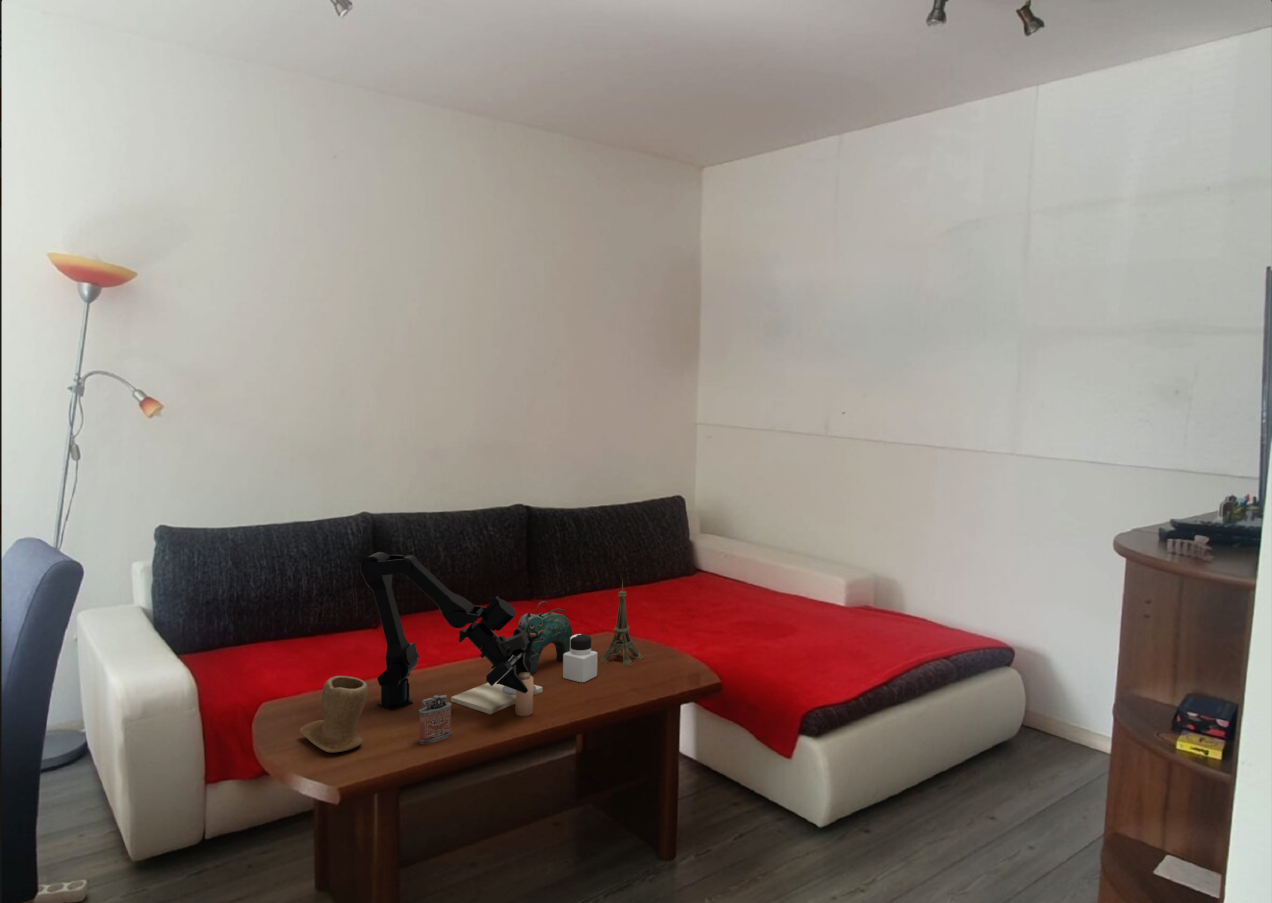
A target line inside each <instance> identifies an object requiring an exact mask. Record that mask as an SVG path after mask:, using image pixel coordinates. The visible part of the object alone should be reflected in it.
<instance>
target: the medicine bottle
mask: <svg viewBox="0 0 1272 903" xmlns="http://www.w3.org/2000/svg"><path fill="white" fill-rule="evenodd" d="M597 676H598V652H597V651H595V650H592V637H591V636H590V635H588V634H584V633H576V634H574V635H573V636H571V638H570V651H569V652H567V653H564V654H563V662H562V677H563V679H566V680H571V681H574V682H579V683H581V682H582V683H581V684H583V682H584V683H585V682H588V681H590V680H591V679H594V678H596V677H597Z"/></svg>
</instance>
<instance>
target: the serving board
mask: <svg viewBox="0 0 1272 903" xmlns="http://www.w3.org/2000/svg"><path fill="white" fill-rule="evenodd" d="M497 682H498V681H497ZM497 682H496V683H497ZM496 683H495V684H494V685H493V686H491V685H490V684H489V683H488V682H487V683H486V682H485V683H483V684H481V685H478V686H476V687H473V688H470V689H468V690H466V691H463V692H460V693H458V694H455V695H453V696H451V697H450V701H451V702H450V703H455V704H457V705H460V706H464V707H467V708H469V709H472V710H475V711H476V710H477V711H479V712H483V713H485V714H488V715H492V714H494V713H497V712H498V711H499V712H500V711H501V710H504V709H505V708H508V707H510V706H513V705H514V704H515V703H516V690H515V689H512V688H510V687H507V686H504V685H500V684H496ZM543 688H544V687H543V686H540V685H536V684H534V683H533V696H535V695H538V694H540V693H543Z"/></svg>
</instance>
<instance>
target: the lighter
mask: <svg viewBox="0 0 1272 903" xmlns="http://www.w3.org/2000/svg"><path fill="white" fill-rule="evenodd" d="M447 698H448V696H447V694H442V695H437V694H435V695H433V696H432V697H430V698H425V699H422V702H421V706H422V708H420V709H418V715H419V737H418V743H419V744H421V745H428V744H432V743H436V742H439V741H442V740H446V739H447V738H450V737H451V736H452V730H451V729H452V728H451V725H452V724H451V719H452V717H451V714H452V713H451V712H452V711H451V710H452V702H448V701H447ZM449 736H450V737H449Z"/></svg>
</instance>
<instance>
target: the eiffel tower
mask: <svg viewBox="0 0 1272 903" xmlns="http://www.w3.org/2000/svg"><path fill="white" fill-rule="evenodd" d="M621 581H622V583H621V591H619V592H617V593H618V594H617V597H619V600H618V609H617V616H616V625H615V627H614V628H613V631H614V635H613V638H612V640H611V641H609V643H610V645H609V646H608V647H607V649H606V650H605V652H604V653H603V655H602V656H601V658H600V659H599V660H600V661H604V662H607V661H609V660H610V661H611V658H610V657H611V656H612V655H611V654H616V655H617V654H619V653H620V652H622V664H621V666H622V665H624V666H623V667H626V666H629V667H628V668H630V666H631V667H632V666H634V665H633V664H634V663H633V662H632V659H634V658H638V659H637V660H642V659H643V658H644V657H643V656H644V655H642V654H641V652H640V650H639V649H638V648H637V647H636V646H635V644H634V643H633V640H634V639H631V636H630V632H629V630H630V625H628V619H627V618H628V617H627V607H626V596H627V592H626V591H624V581H623V578H622V580H621ZM628 650H629V652H630V653H631V655H632V656H631V657H630V655H629V653H628ZM620 654H621V653H620ZM620 654H619V655H620ZM616 655H615V656H616ZM617 656H618V655H617ZM642 657H643V658H642ZM641 658H642V659H641ZM610 661H609V662H610ZM607 663H608V662H607Z"/></svg>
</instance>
